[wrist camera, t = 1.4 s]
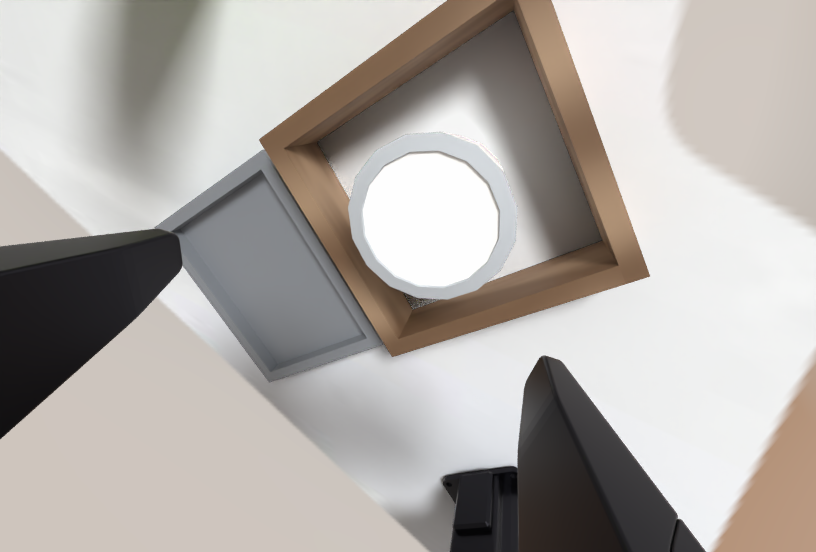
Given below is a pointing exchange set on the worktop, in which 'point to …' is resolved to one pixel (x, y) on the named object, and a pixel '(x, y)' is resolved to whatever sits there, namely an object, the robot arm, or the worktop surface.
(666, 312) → the worktop surface
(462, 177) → the white tapered cup
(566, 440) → the robot arm
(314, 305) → the charcoal tray
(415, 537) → the worktop surface
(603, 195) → the walnut bin
